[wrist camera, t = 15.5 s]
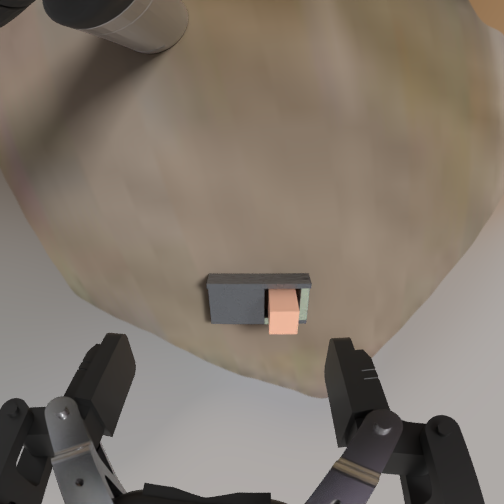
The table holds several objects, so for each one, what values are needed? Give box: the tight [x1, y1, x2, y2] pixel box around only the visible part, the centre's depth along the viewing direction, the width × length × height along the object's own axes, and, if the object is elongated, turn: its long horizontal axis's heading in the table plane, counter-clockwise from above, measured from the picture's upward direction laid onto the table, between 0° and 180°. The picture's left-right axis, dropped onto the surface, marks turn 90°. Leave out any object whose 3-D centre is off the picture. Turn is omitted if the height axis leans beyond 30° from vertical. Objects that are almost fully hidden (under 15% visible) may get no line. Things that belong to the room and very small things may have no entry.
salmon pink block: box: [268, 289, 300, 334], centre depth 47 cm, size 4×4×7 cm
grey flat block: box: [207, 273, 311, 324], centre depth 49 cm, size 8×15×3 cm, turn 91°
